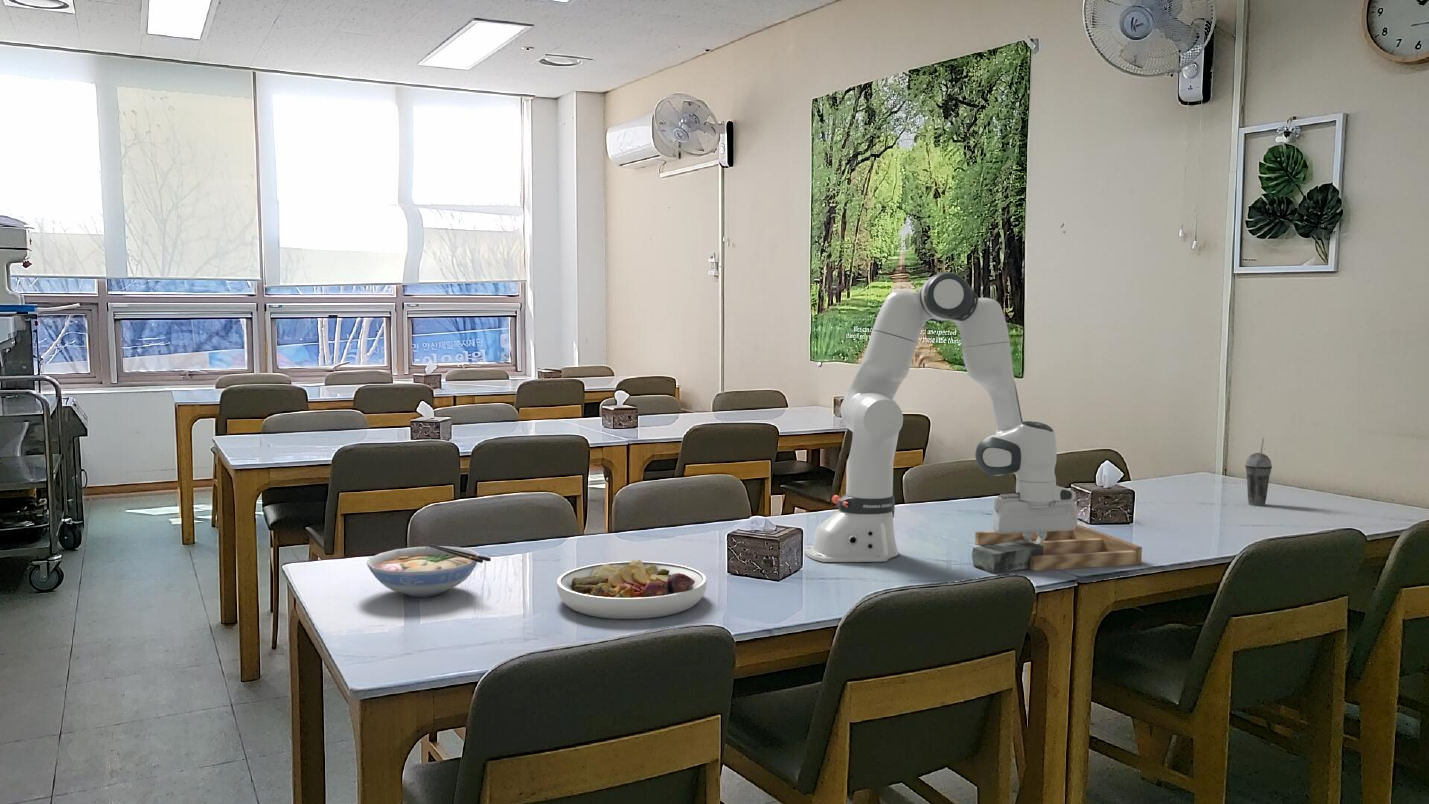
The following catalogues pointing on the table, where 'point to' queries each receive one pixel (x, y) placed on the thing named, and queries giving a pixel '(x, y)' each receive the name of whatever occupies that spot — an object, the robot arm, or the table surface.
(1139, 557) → the divided wooden tray
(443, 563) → the ramen bowl
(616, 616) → the bowl
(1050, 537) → the walnut block
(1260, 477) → the beverage cup
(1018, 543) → the stone block
